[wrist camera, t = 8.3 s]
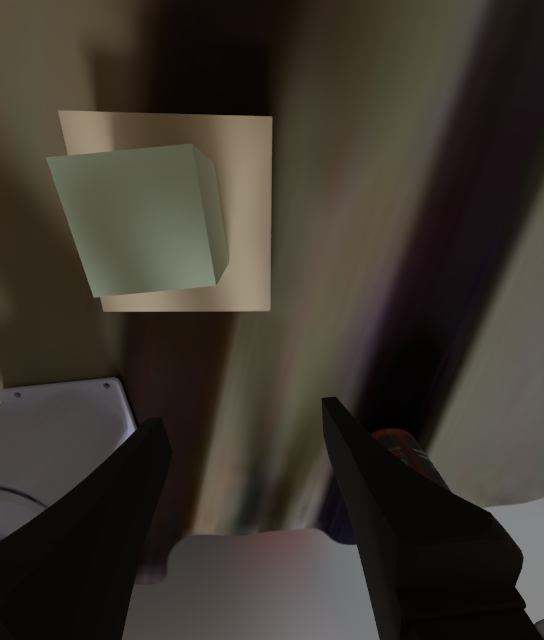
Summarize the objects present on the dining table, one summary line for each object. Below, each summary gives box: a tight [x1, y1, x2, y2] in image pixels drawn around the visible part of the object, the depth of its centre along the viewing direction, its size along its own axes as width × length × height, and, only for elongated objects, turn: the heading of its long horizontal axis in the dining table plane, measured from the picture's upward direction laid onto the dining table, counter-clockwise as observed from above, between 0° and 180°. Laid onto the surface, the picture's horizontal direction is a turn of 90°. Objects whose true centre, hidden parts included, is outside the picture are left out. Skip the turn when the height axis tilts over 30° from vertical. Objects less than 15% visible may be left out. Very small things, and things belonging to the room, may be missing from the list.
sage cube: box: [46, 144, 229, 297], centre depth 13 cm, size 5×5×5 cm
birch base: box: [58, 111, 272, 312], centre depth 17 cm, size 10×10×4 cm
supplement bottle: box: [371, 428, 452, 493], centre depth 22 cm, size 6×6×11 cm
